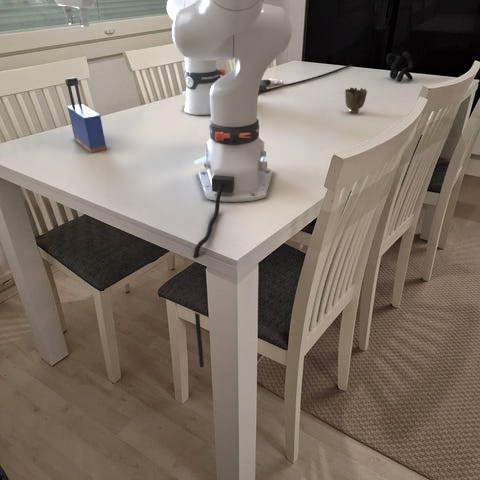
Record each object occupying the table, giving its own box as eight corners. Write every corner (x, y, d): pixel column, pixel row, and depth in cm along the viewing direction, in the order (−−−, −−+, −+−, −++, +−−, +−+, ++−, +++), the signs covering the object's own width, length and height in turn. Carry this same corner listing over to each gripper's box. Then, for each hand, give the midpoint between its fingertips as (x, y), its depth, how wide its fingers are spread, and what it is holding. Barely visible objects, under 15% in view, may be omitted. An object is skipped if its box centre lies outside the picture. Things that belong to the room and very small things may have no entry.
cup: (340, 114, 157) (342, 91, 153) (346, 109, 163) (348, 86, 159) (361, 116, 154) (364, 93, 150) (366, 111, 160) (369, 88, 156)
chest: (74, 139, 140) (68, 109, 135) (89, 136, 143) (83, 106, 138) (91, 152, 130) (84, 121, 125) (106, 149, 132) (100, 118, 127)
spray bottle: (231, 92, 187) (266, 82, 203) (251, 96, 181) (286, 85, 197) (231, 84, 185) (266, 75, 201) (251, 88, 179) (286, 78, 195)
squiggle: (400, 92, 202) (376, 71, 205) (417, 76, 202) (392, 56, 205) (405, 81, 191) (380, 59, 194) (423, 64, 191) (397, 42, 194)
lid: (67, 109, 136) (60, 78, 131) (82, 106, 138) (76, 75, 133) (84, 120, 125) (77, 87, 120) (100, 117, 127) (94, 84, 122)
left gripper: (95, -34, 112) (104, 27, 120) (65, -33, 126) (75, 21, 133) (71, -34, 109) (81, 29, 116) (43, -33, 123) (54, 23, 130)
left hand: (78, 25), depth 125 cm, fingers open, 8 cm apart
